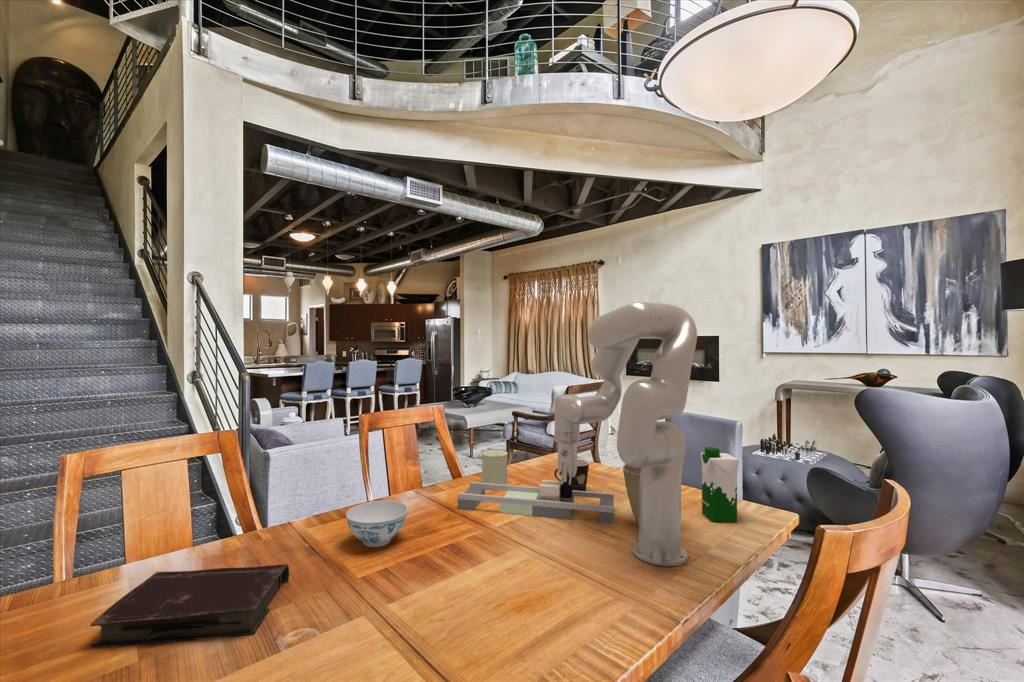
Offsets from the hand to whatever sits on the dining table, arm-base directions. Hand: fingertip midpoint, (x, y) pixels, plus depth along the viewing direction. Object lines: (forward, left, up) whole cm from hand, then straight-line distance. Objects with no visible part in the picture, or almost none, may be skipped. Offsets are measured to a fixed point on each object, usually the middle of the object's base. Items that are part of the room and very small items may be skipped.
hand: (566, 497), depth 135 cm
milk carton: (+6, -44, -4) cm, 44 cm away
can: (+18, +27, -4) cm, 33 cm away
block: (0, +5, -1) cm, 5 cm away
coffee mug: (+18, 0, -4) cm, 18 cm away
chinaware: (-32, +44, -4) cm, 55 cm away
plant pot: (-5, -24, -4) cm, 25 cm away
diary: (-67, +61, -5) cm, 90 cm away
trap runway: (0, +9, -4) cm, 10 cm away
